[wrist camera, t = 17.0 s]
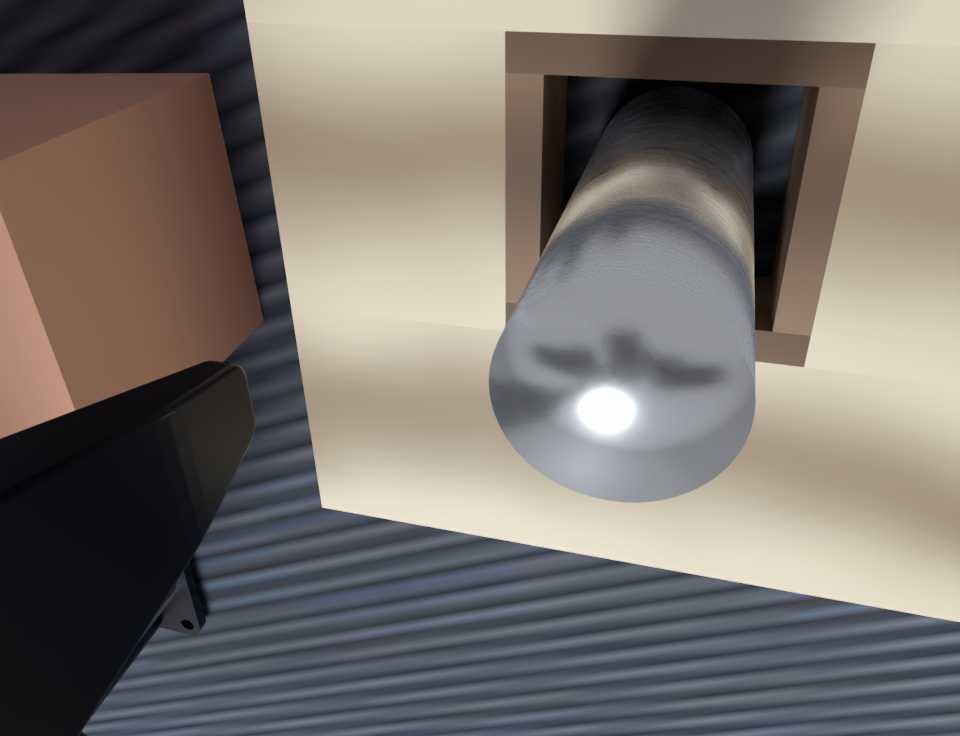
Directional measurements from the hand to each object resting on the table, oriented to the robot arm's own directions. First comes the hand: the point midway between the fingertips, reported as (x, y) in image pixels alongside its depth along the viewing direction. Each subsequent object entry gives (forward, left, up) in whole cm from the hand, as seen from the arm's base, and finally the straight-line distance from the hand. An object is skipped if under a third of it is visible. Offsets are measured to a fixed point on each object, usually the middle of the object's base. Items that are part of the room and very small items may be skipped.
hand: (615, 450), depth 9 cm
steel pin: (0, 0, -10) cm, 10 cm away
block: (-2, +15, -10) cm, 18 cm away
